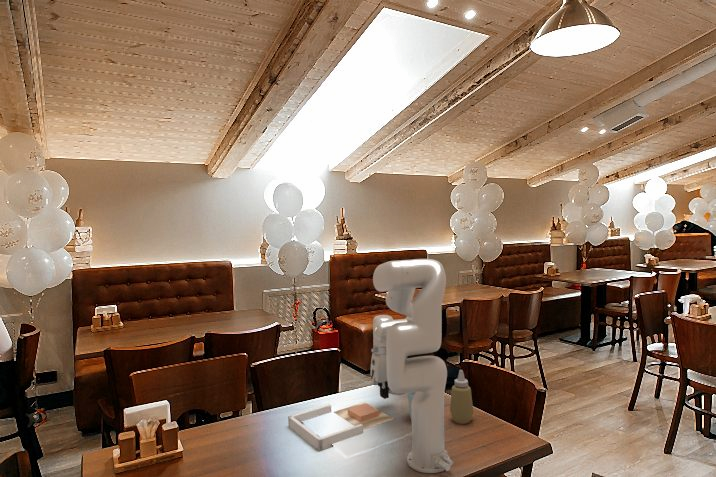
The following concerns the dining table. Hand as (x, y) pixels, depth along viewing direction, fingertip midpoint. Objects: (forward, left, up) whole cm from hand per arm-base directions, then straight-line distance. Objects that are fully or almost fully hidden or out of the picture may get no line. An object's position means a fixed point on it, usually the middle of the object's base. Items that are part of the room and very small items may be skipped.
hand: (384, 397), depth 177 cm
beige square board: (-1, +10, -5) cm, 11 cm away
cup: (-15, -4, -5) cm, 16 cm away
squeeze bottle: (-24, -16, -5) cm, 29 cm away
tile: (-1, +10, -4) cm, 11 cm away
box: (-1, +26, -5) cm, 27 cm away
